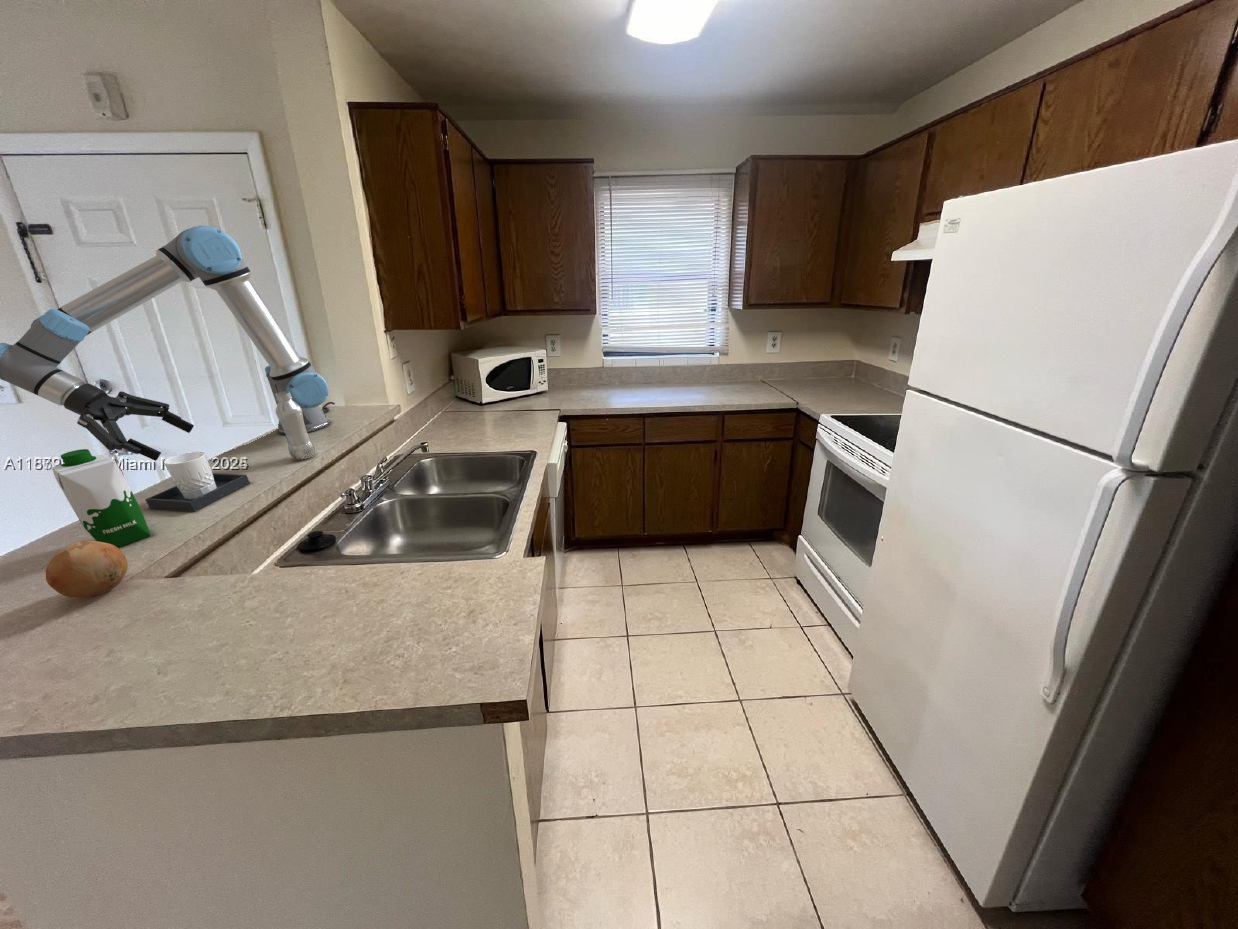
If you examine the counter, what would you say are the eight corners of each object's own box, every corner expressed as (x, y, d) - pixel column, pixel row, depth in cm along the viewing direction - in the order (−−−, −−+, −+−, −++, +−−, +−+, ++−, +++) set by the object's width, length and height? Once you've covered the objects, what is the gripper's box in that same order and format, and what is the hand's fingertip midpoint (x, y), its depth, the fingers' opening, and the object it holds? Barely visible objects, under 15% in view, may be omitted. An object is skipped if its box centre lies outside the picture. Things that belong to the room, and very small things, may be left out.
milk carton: (143, 524, 108) (101, 443, 100) (158, 535, 103) (114, 451, 95) (90, 543, 101) (40, 458, 93) (103, 555, 97) (51, 467, 88)
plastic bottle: (294, 464, 137) (270, 397, 129) (290, 457, 142) (267, 393, 134) (319, 457, 141) (298, 392, 133) (314, 451, 146) (293, 388, 138)
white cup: (203, 500, 117) (186, 463, 112) (172, 501, 117) (154, 464, 113) (227, 486, 124) (213, 451, 120) (198, 486, 124) (183, 451, 120)
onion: (98, 576, 90) (71, 531, 86) (152, 572, 91) (128, 528, 86) (45, 611, 81) (12, 563, 77) (104, 607, 82) (75, 559, 78)
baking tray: (209, 481, 128) (205, 472, 127) (250, 483, 126) (246, 474, 125) (149, 508, 115) (144, 499, 114) (194, 511, 113) (190, 502, 112)
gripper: (108, 383, 126) (198, 427, 136) (24, 431, 106) (137, 479, 116) (118, 363, 123) (209, 410, 133) (33, 408, 103) (148, 459, 113)
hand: (176, 442), depth 125 cm, fingers open, 13 cm apart
